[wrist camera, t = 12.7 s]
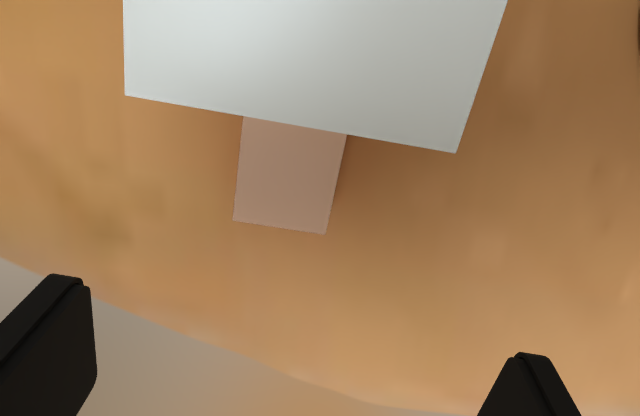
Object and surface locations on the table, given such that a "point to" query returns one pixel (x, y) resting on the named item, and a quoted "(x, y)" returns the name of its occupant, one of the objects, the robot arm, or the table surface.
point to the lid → (312, 83)
